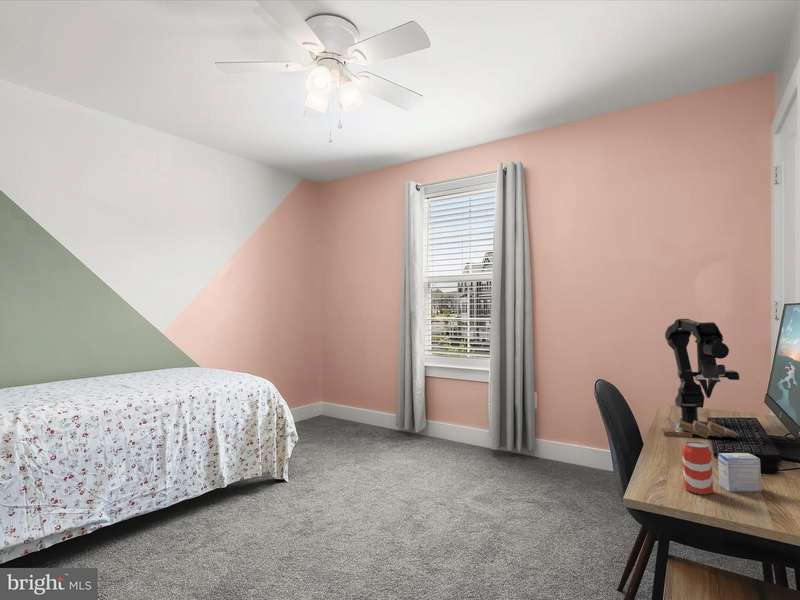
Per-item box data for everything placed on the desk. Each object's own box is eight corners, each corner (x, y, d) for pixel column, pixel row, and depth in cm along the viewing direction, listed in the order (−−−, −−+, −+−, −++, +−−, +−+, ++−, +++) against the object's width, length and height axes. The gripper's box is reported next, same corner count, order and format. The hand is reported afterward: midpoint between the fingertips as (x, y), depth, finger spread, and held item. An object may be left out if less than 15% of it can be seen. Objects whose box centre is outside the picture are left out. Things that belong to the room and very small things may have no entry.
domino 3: (721, 439, 162) (693, 427, 166) (719, 436, 166) (692, 424, 170) (724, 435, 162) (696, 422, 166) (721, 431, 166) (694, 419, 170)
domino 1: (692, 437, 166) (664, 436, 169) (688, 434, 171) (660, 432, 174) (691, 432, 166) (663, 431, 169) (687, 429, 171) (660, 427, 174)
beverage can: (688, 494, 117) (686, 447, 117) (681, 485, 123) (679, 440, 123) (716, 496, 115) (714, 448, 115) (707, 487, 121) (705, 441, 121)
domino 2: (706, 438, 164) (678, 427, 168) (705, 435, 169) (678, 424, 173) (708, 433, 164) (680, 422, 168) (707, 430, 168) (680, 419, 173)
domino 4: (737, 440, 160) (709, 428, 164) (734, 437, 165) (706, 425, 169) (740, 436, 160) (711, 423, 164) (737, 432, 165) (709, 420, 168)
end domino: (698, 429, 171) (689, 423, 179) (683, 428, 172) (675, 423, 181) (699, 434, 171) (690, 428, 179) (683, 433, 172) (675, 427, 181)
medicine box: (750, 485, 121) (748, 452, 121) (762, 492, 117) (760, 458, 117) (718, 485, 122) (717, 452, 122) (729, 492, 117) (727, 458, 118)
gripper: (680, 357, 169) (682, 400, 168) (742, 358, 161) (744, 403, 161) (676, 354, 179) (678, 395, 179) (734, 355, 171) (736, 397, 171)
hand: (708, 397), depth 172 cm, fingers closed
